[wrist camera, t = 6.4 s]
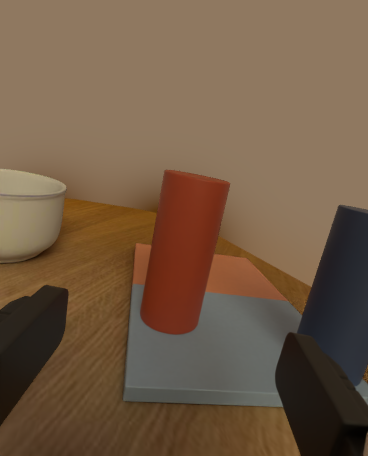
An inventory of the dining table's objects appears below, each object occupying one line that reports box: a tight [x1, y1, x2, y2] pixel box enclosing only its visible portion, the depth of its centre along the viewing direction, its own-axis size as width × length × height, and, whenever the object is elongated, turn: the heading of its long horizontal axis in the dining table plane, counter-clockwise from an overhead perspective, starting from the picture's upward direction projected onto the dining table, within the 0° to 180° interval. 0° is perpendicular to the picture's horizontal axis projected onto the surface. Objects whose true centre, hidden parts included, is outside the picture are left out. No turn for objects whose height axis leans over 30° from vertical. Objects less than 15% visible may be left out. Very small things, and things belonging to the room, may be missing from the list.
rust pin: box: [140, 170, 230, 335], centre depth 21 cm, size 5×5×11 cm
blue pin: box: [297, 205, 368, 386], centre depth 19 cm, size 5×5×11 cm
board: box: [123, 243, 368, 407], centre depth 28 cm, size 16×24×1 cm, turn 8°
